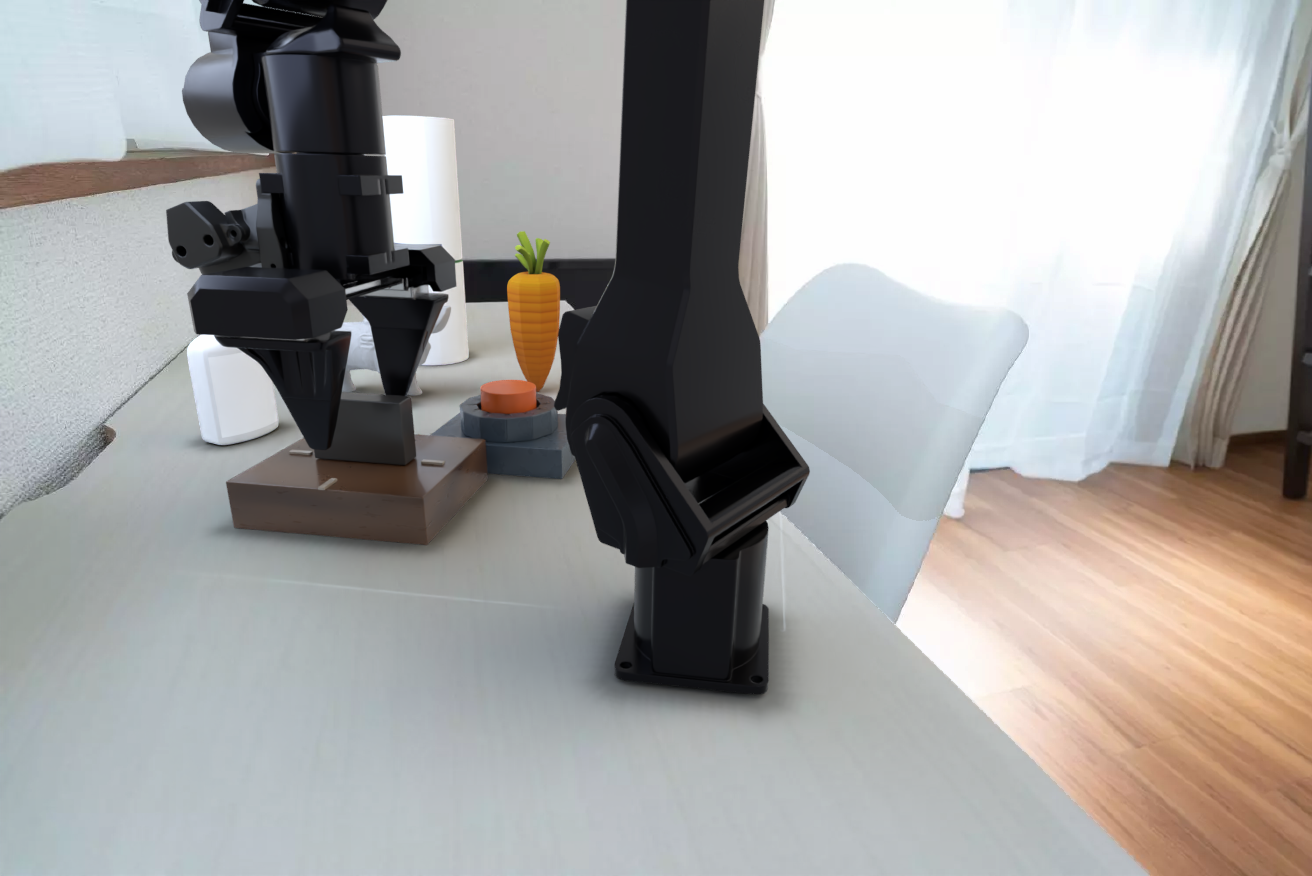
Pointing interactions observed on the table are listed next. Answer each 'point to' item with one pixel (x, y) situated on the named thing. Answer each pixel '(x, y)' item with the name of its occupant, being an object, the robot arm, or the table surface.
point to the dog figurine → (365, 354)
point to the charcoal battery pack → (373, 430)
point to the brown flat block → (360, 492)
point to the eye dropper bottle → (230, 393)
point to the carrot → (534, 312)
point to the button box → (516, 438)
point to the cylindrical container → (430, 211)
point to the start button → (508, 396)
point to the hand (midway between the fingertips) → (361, 423)
